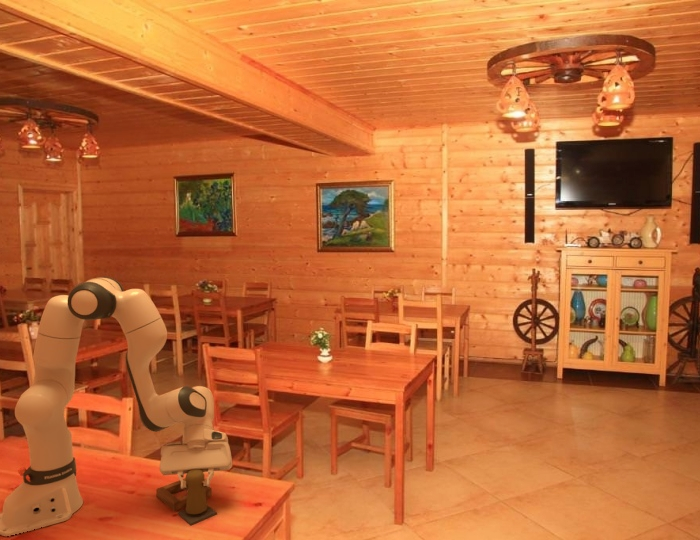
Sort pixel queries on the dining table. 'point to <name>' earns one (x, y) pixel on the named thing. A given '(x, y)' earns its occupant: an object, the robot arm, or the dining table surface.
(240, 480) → the dining table surface
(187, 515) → the rubber mat
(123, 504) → the dining table surface
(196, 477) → the cork
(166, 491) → the walnut housing
